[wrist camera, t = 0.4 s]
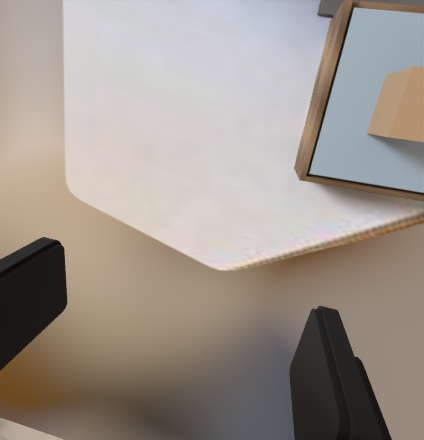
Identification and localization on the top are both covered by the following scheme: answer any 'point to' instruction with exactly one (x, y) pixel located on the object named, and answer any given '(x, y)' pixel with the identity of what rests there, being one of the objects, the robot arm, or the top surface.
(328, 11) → the mat
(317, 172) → the lid
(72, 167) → the top surface
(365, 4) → the walnut box
